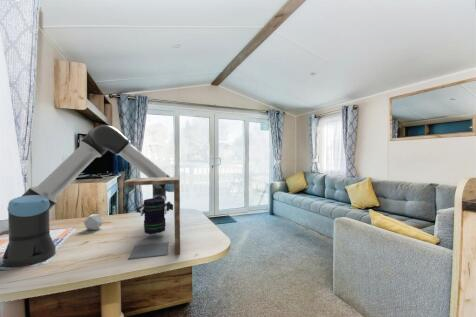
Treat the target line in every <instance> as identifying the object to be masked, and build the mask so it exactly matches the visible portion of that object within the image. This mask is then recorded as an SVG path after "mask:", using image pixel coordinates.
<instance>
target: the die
mask: <svg viewBox="0 0 476 317" xmlns="http://www.w3.org/2000/svg"><path fill="white" fill-rule="evenodd" d="M83 224H84V226H85V228H86V230H87V231H98V229H99V228H100V227H101V226H102V225H103V224H104V219H103V218H102V216H101V214H99V213H98V214H94V213H93V214H90V215H89V216H88V217H86V218H85V220H83Z"/></svg>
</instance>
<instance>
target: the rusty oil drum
mask: <svg viewBox="0 0 476 317" xmlns="http://www.w3.org/2000/svg"><path fill="white" fill-rule="evenodd" d="M164 201H165V199H164V198H153V197H151V198H147V199H144V200H143V203H144V206H143V209H144V214H143V216H144V218H143V219H144V221H143V229H144V231H143V232H144V234H147V235H154V234H160V233H163V232H165V231H166V216H165V215H166V214H165V203H166V202H164Z"/></svg>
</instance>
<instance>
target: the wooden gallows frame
mask: <svg viewBox="0 0 476 317" xmlns="http://www.w3.org/2000/svg"><path fill="white" fill-rule="evenodd" d="M155 184H174V192H173V195H174V196H173V211H174V212H173V213H174V255H175V256H176V255H181V216H180V215H181V210H180V209H181V207H180V205H181V204H180V202H181V201H180V200H181V198H180V197H181V196H180V194H181V190H180V176H170V177H156V178H148V177H131V178H129V179H126V180H124V181H123V194H125V195H126V194H129V193H131V192H132V191H133V190H135V189H136V186H152V185H155Z"/></svg>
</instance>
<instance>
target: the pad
mask: <svg viewBox="0 0 476 317" xmlns="http://www.w3.org/2000/svg"><path fill="white" fill-rule="evenodd" d="M168 250H169V242H168V241H166V242H155V243H145V244H136V245H134V246H133V248H132V250H131V252H130V254H129V256H128V257H127V260H135V259H143V258H144V259H145V258H153V257H162V256H167V255H168Z"/></svg>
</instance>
